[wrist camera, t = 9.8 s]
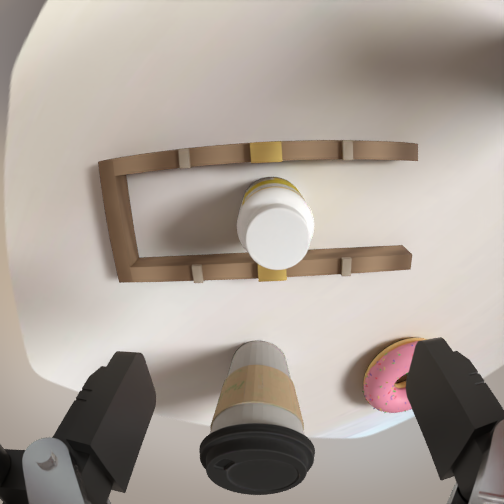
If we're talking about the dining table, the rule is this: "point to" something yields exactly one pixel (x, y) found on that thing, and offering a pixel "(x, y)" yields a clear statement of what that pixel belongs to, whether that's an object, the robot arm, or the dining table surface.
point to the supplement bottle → (275, 223)
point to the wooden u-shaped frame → (240, 263)
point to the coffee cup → (257, 426)
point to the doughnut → (390, 377)
